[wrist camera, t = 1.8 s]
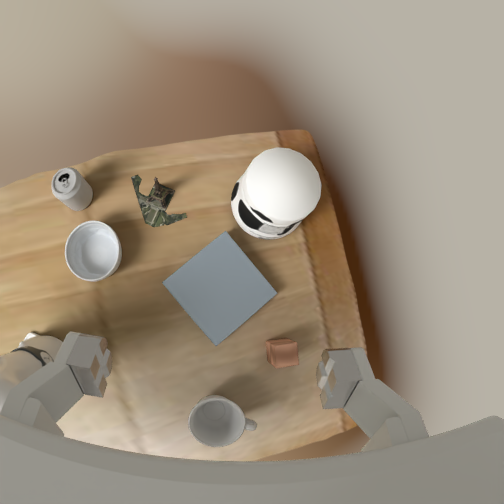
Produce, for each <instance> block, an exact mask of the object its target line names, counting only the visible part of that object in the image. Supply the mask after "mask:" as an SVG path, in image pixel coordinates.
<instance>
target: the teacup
mask: <svg viewBox="0 0 504 504" xmlns="http://www.w3.org/2000/svg"><path fill="white" fill-rule="evenodd" d="M188 426H189V430H190V432H191V434H192V435H193V437H194V438H195V439H196V440H198V441H199V442H200V443H202V444H204V445H207V446H211V447H223V446H227V445H229V444H232V443H233V442H235V441H236V440H237V439H239V437H240V436H241V435H242V433H243V431H244V429H246V430H250V431H253V430H255V429H256V427H257V424H256V422H254V421H253V420H250V419H247V418H245V415H244V413H243V411H242V409H241V408H240V407H239V406H238V405H237V404H236V403H234V402H233V401H231V400H228V399H227V398H225V397H223V396H220V395H210V396H206V397H204V398H203V399H201V400H200V401H199V402H198V403H197V405H196V406H195V407H194V408H193V409H192V411H191V413H190V415H189V419H188Z"/></svg>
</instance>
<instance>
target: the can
mask: <svg viewBox="0 0 504 504" xmlns="http://www.w3.org/2000/svg"><path fill="white" fill-rule="evenodd" d="M52 191H53V194H54V195H55V197H56V198H58V199H59V200H60V201H61V202H63V203H64V204H65V205H66V206H68V207H69V208H70V209H72V210H75V211H80V210H83V209H85V208H86V207H87V206H88V205H89V204H90V202H91V200H92V197H93V191H92V188H91V186H90V185H89V184H88V183H87V182H86V180H85V179H84V178H83V177H82V176H81V174H80V173H79V172H78V171H77V170H76V169H74V168H63V169H61V170H59V171H58V172H57V173H56V174H55V175H54V177H53V180H52Z"/></svg>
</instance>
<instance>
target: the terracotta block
mask: <svg viewBox="0 0 504 504" xmlns="http://www.w3.org/2000/svg"><path fill="white" fill-rule="evenodd" d="M266 347H267V357H268V362H269V363H271V364H272V365H273V366H274V367H276V368H282V367H288V366H294V365H299V360H298V348H297V342H294V341H292V340H289V339H287V338H284V339H277V340H270V341H266Z"/></svg>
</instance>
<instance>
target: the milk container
mask: <svg viewBox="0 0 504 504" xmlns="http://www.w3.org/2000/svg"><path fill="white" fill-rule="evenodd" d="M320 196H321V181H320V177H319V174H318V172H317V170H316V168H315V167H314V165H313V164H312V162H311V161H310V160H308V159H307V158H306V157H305V156H304V155H302V154H301V153H299V152H296V151H294V150H292V149H288V148H273V149H269V150H266V151H264V152H262V153H261V154H260V155H258V156H257V157H255V158H254V159H253V160H252V162H251V164H250V165H249V167H248V168H247V170H246V171H245V173H244V174H243V175H242V176H241V177H240V178H239V180H238V181H237V182H236V184H235V186H234V189H233V192H232V197H231V207H232V212H233V215H234V217H235V219H236V221H237V223H238V224H239V226H240V227H241V228H242V229H243V230H244V231H246V232H247V233H248V234H250V235H252V236H254V237H257V238H260V239H268V240H269V239H278V238H281V237H284V236H286V235H288V234H290V233H291V232H292V231H294V230H295V229H296V228H297V227H298V225H299V224H300V223H301V221H302V220H303V219H304V218H305V217H306V216H308V215H309V214H310V213H311V212H312V211H313V210H314V209H315V207H316V205H317V203H318V201H319V199H320Z"/></svg>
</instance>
